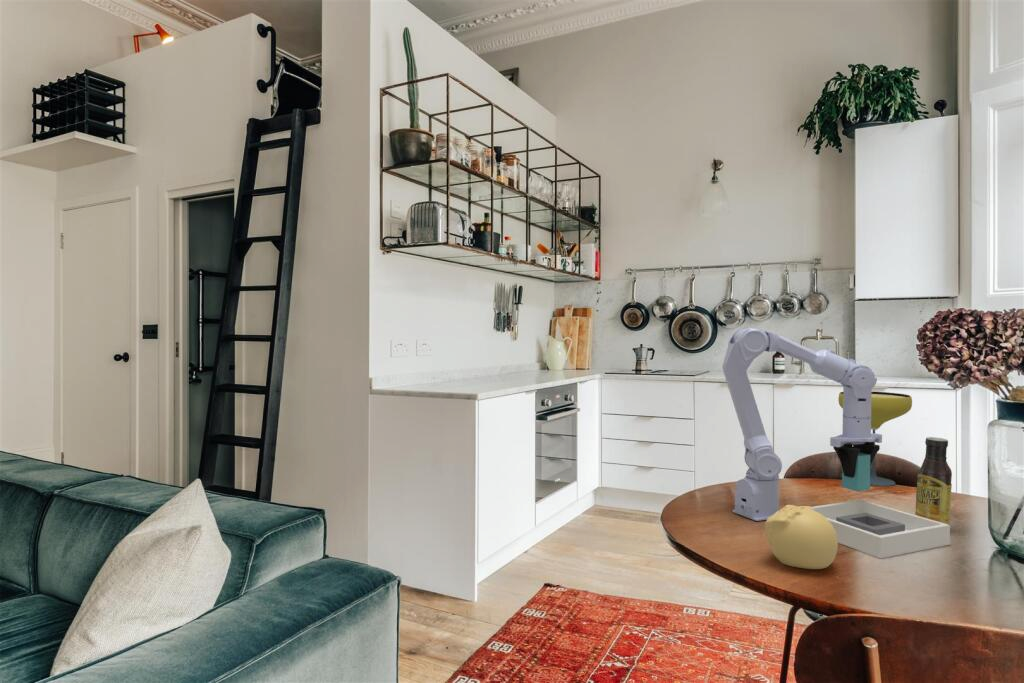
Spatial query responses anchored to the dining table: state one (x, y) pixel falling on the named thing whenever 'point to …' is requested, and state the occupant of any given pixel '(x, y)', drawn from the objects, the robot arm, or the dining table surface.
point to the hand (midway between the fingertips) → (855, 475)
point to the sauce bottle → (934, 483)
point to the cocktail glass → (884, 420)
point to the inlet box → (883, 528)
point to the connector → (859, 475)
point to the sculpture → (801, 537)
